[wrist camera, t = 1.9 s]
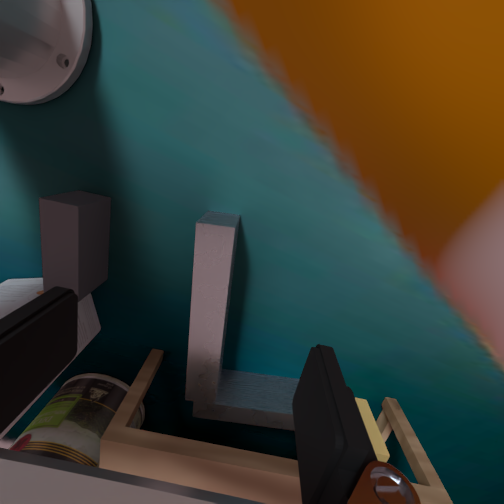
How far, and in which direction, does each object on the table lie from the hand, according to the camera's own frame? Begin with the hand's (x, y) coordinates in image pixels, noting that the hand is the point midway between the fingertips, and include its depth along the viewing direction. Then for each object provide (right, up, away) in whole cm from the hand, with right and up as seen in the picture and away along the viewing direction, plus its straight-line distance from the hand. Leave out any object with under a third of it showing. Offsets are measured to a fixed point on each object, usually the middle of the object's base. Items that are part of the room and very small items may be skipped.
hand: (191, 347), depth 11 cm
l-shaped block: (+3, -2, +16) cm, 17 cm away
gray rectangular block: (-12, +5, +14) cm, 19 cm away
